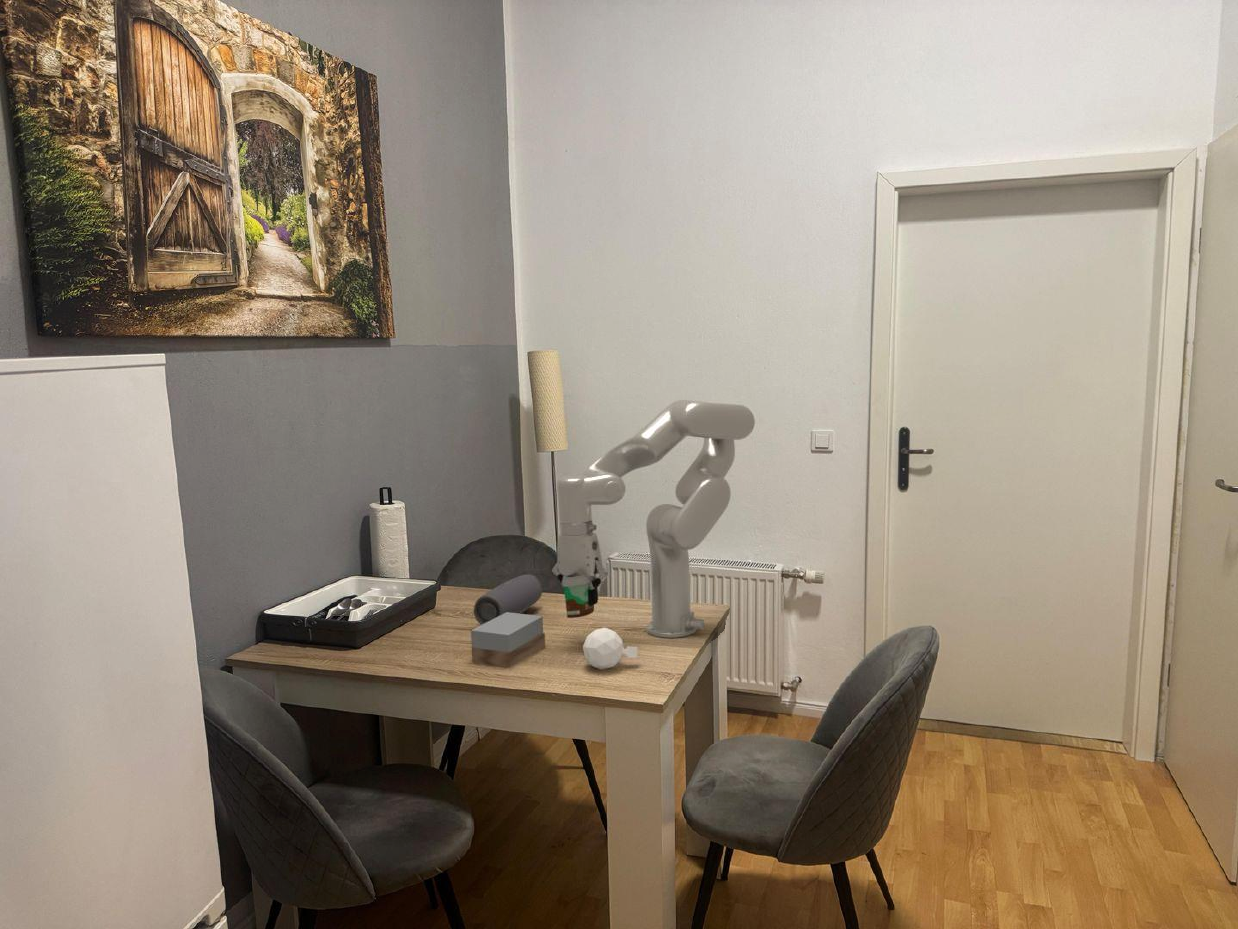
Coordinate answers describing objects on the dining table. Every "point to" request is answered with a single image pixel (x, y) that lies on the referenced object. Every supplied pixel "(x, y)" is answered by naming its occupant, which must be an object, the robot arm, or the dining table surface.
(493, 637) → the grey slab
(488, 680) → the dining table surface
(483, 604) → the bluetooth speaker
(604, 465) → the robot arm
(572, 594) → the food container
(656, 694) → the dining table surface
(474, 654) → the walnut slab
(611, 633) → the perfume bottle
